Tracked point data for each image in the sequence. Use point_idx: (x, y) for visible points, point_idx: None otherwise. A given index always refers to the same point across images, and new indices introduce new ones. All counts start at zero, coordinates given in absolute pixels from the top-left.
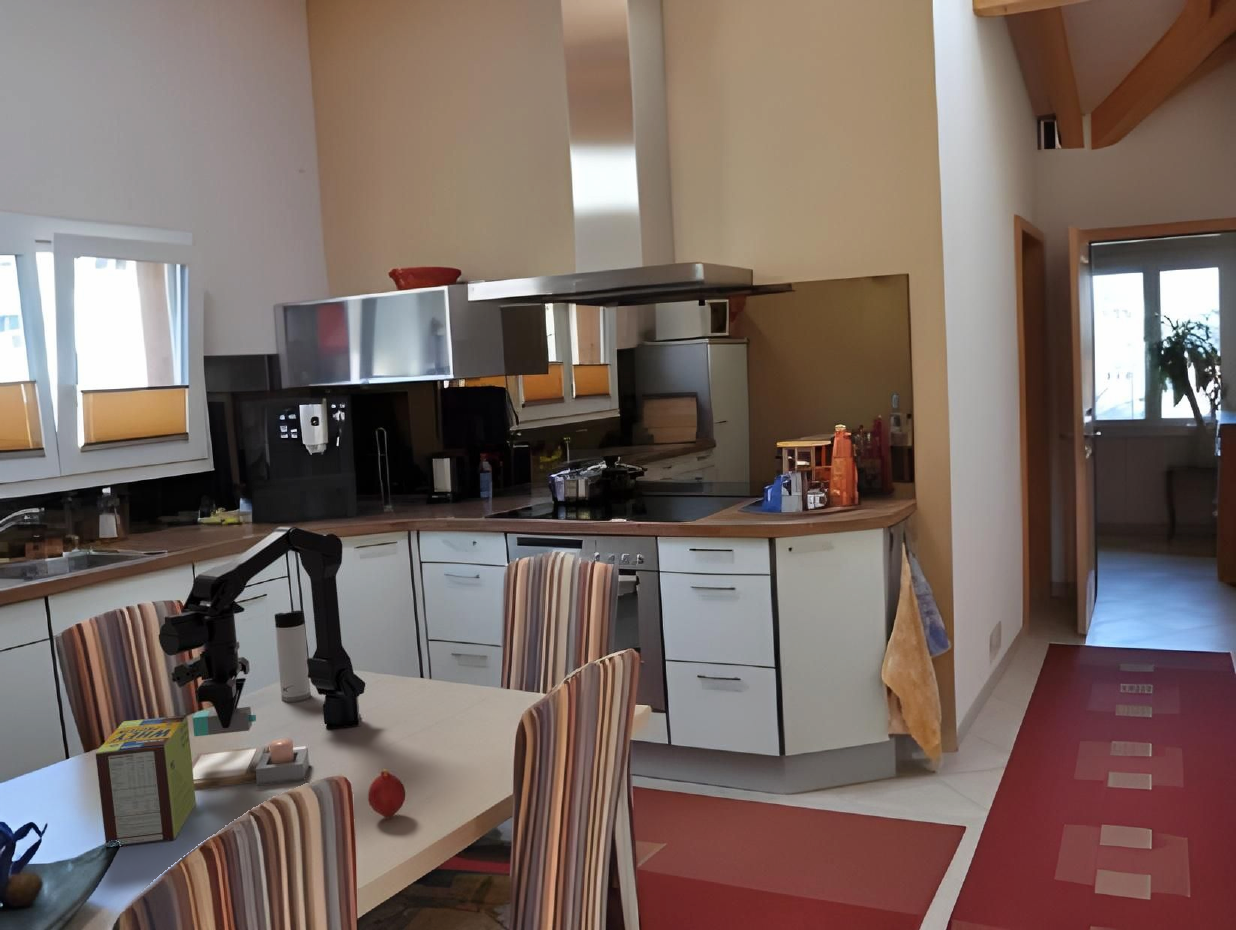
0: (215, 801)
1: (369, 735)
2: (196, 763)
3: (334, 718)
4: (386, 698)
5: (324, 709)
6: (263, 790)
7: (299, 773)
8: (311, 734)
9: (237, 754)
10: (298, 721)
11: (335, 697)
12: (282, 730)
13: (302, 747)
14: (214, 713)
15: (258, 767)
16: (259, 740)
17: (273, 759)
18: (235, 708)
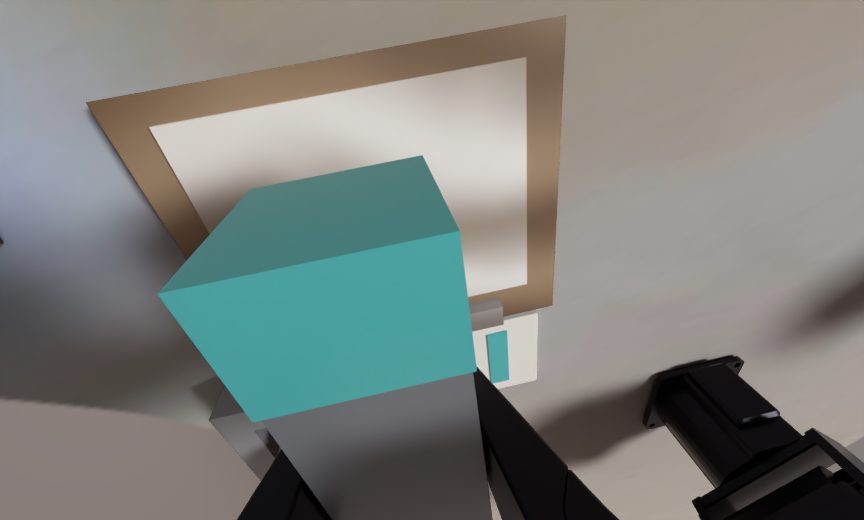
0: (57, 306)
1: (568, 455)
2: (396, 82)
3: (681, 408)
4: (810, 408)
5: (724, 411)
6: (198, 396)
7: None
8: (642, 351)
9: (482, 238)
10: (791, 280)
11: (735, 473)
12: (733, 263)
13: (529, 374)
14: (373, 428)
15: (228, 421)
16: (672, 223)
17: (279, 450)
18: (482, 497)
